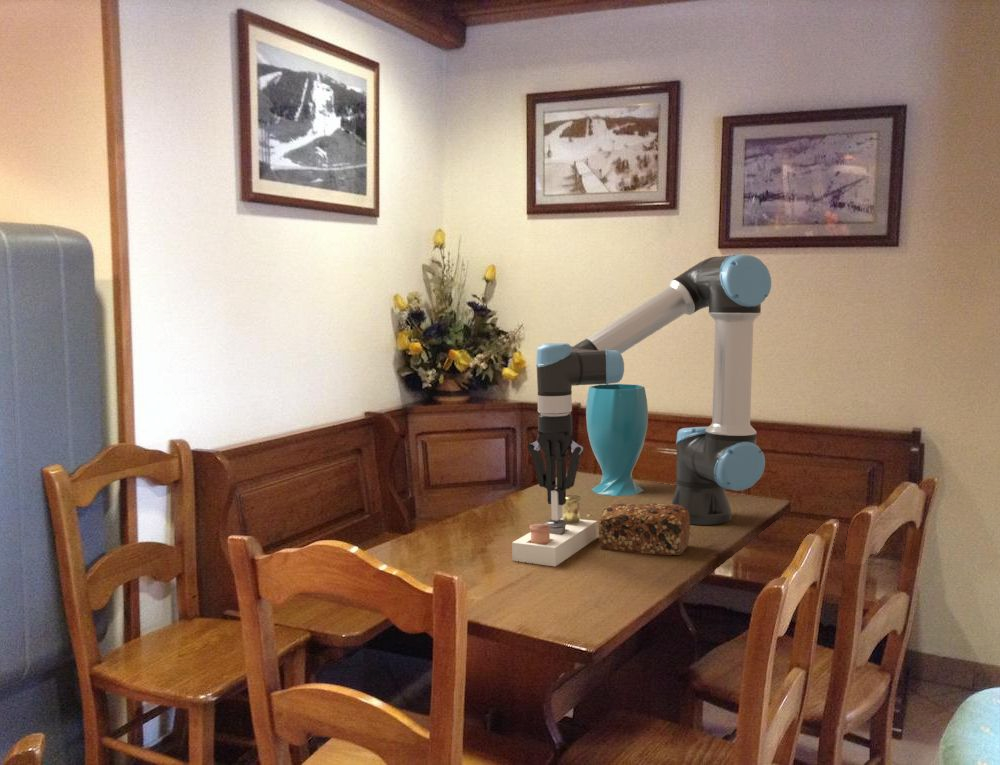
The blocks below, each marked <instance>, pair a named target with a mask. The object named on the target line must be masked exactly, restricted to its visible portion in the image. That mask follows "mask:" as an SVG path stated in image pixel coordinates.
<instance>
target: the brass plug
mask: <svg viewBox="0 0 1000 765" xmlns="http://www.w3.org/2000/svg"><path fill="white" fill-rule="evenodd" d="M581 501H582V500H581V496H580V495H577V494H566V503H565V504H564V505H562V512H563V518H562V519H563V520H565V521H566V523H567V524H575V523H579V522H580V519H581V514H580V513H581V512H580V511H581V510H580V509H581V508H580V506H581V504H580V502H581Z"/></svg>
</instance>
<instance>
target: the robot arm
mask: <svg viewBox="0 0 1000 765" xmlns="http://www.w3.org/2000/svg"><path fill="white" fill-rule="evenodd" d="M771 288H772V278H771V273H770V271H769V269H768V267H767V265H766V264H765V263H764V262H763V261H762V260H760V258H758V257H757V256H756V257H755V256H754V255H750V254H741V253H739V254H732V255H731V254H730V255H723V256H712V257H708V258H705V259H704V260H702V261H700V262H698V263H697V264H695V265H693V266H691V267H690V268H688V269H686V271H684V272H683V273H681V274H679V275H677V276H676V277H674V278H673V279H671V280H670V281H669V282H668V285H667V288H665V289H663V290H662V291H660V292H659V293H657V294H656V295H654V296H652V297H651V298H649V299H647V300H645V301H644V302H643V303H641V304H640V305H637V306H636V307H635V308H633V309H632V310H631V309H630V310H629V312H626V313H624V314H623V315H622V316H621V317H618V318H617V319H615V320H613V321H612V322H611V323H608V324H607V325H606V326H604V327H603V328H601V329H599V330H597V331H596V332H595V333H593V334H591V335H590V336H588V337H586V338H585V339H584V340H582V341H580V342H578V343H576V344H575V345H574V346H571V344H570V343H567V342H557V343H553V342H551V343H542V344H539V346H538V347H537V349H536V364H535V367H536V379H537V380H536V381H537V382H536V385H537V412H538V414H539V415H538V416H537V432H538V434H537V438H536V440H535V441H534V442H532V443H529V444H528V445H527V449H528V451H529V452H530V454H531V455H532V456H531V457H532V460H533V466H534V470H535V473H536V477H537V482H538V485H539V487H541V488H544V489H546V491H547V493H546V494H547V504H548V505H551V508H550V510H551V511H550V513H551V519H552V520H557V521H558V520H559V519H561V518H563V512H562V505H564V504H565V503H566V495H567V490H569V489H571V488H573V487H574V486H575V482H576V476H577V472H578V468H579V463H580V458H581V455H582V453H583V452H584V450H585V447H584V445H580V444H578V443H577V442H575V438H574V436H573V415H572V414H571V412H572V411H573V406H572V404H573V402H572V401H573V400H572V396H573V395H572V393H573V391H572V387H573V386H576V387H577V386H586V385H587V386H588V385H589V386H590V385H591V386H595V385H608V384H619V383H620V382H621V380H622V379H623V377H624V375H625V374H624V373H625V362H624V358H623V356H622V354H623V353H625V352H626V351H628V350H629V349H631V348H632V347H634V346H636V345H637V344H639V343H641V342H642V341H644V340H645V339H647V338H648V337H650V336H652V335H653V334H655V333H656V332H658V331H660V330H662V329H663V328H664V327H665V326H667V325H670V324H671V323H672V322H674V321H676V320H677V319H679V318H680V317H682V316H684V315H688V316H691V315H693V314H694V313H696V312H698V311H700V310H702V309H705V308H708V314H709V316H710V317H711V318H712V319H713V320H714V347H713V348H714V349H713V350H714V352H713V354H714V355H713V380H712V381H713V383H712V384H713V386H712V416H711V417H712V418H711V419H712V422H711V424H710V425H709V426H694V427H683V428H680V429H679V430H678V431H677V433H676V441H675V445H676V488H675V491H674V495H673V497H672V501H671V503H670V504H677V505H681V506H683V507H686V508H687V509H688V512H689V516H690V525H696V526H697V525H698V526H699V525H700V526H701V525H702V526H703V525H704V526H709V525H710V526H712V525H719V524H720V525H721V524H725V523H728V522H731V520H732V508H731V505H730V504H731V503H730V502H729V499H728V495H727V493H726V490H731V491H736V492H738V491H745V490H747V489H750V488H751V487H753V486H754V485H755V484H756V483H757V482H758V481H759V480H760V479H761V477H762V476H763V474H764V471H765V467H766V459H765V458H766V457H765V454H764V452H763V451H762V450H761V448H760V447H759V445H757V430H756V429H755V428H754V427H753V426H752V425H751V408H752V407H751V405H752V404H751V403H752V378H753V377H752V376H753V375H752V373H753V350H754V349H753V346H754V342H753V341H754V322H755V320H756V319H757V318H759V317H760V315H761V312H762V310H761V309H762V308H761V305H762V304H763V303H764V301H765V300H766V298H767V297H769V295H770V293H771ZM541 449H542V451H543V452H544V459H543V454H542V452H541ZM570 449H571V450H570ZM569 451H571V455H570V458H569V463H568V468H567V456H568V452H569ZM544 460H545V463H544ZM725 489H726V490H725Z"/></svg>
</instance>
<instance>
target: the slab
mask: <svg viewBox="0 0 1000 765" xmlns="http://www.w3.org/2000/svg"><path fill="white" fill-rule="evenodd" d="M561 519H562V518H561ZM562 520H563V519H562ZM597 538H598V521H597V520H591V519H581V518H580V522H579V523H575V524H567V523H566V526H565V533H564V534H562V535H558V534H550V543H548V544H546V545H542V544H534V543H531V531H530V532H528V533H526V534H524V535H523V536H521V537H519V538H517V539H516V540H514V541H512V542H511V546H512V548H511V550H512V551H511V552H512V553H511V554H512V557H511V558H512V559H511V560H512V562H518V561H519V562H520V563H525V562H526V563H528V564H532V563H533V564H534V565H539V566H541V565H542V566H548V567H549V566H550V567H557V566H559V565H560V564H562V563H563V562H565V560H567V559H568V558H570V557H571V556H573V555H575V554H576V553H577V552H579V551H580V550H582V549H583V548H585V547H586V546H587V545H589V544H590V543H592V542H593V541H595V540H597ZM519 562H518V563H519ZM526 563H525V564H526Z"/></svg>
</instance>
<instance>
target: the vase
mask: <svg viewBox="0 0 1000 765" xmlns="http://www.w3.org/2000/svg"><path fill="white" fill-rule="evenodd" d="M585 404H586V405H585V406H586V407H585V418H586V422H585V423H586V430H587V435H588V440H589V444H590V448H591V450H592V453H593V455H594V456H595V459H596V461H597V463H598V465H599V467H600V470H601V473H602V474H601V480H600V483H599V484H598V485H596V486H595V487H593V488H592V489H591V491H593V492H594V493H595V494H596V495H604V496H605V495H606V496H615V497H623V496H635V495H637V494H640V493H642V492H644V489H643V488H642V487H640V486H639V484H637V483H636V482H635V481H634V479H633V476H632V473H633V470H634V468H635V466H636V465H637V462H638V460H639V457H640V455H641V452H642V450H643V448H644V445H645V440H646V436H647V431H648V420H649V412H648V411H649V410H648V408H649V406H648V399H647V393H646V388H645V386H643V385H639V384H626V383H611V384H608V385H606V384H594V385H591V386H588V391H587V397H586V403H585Z"/></svg>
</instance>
